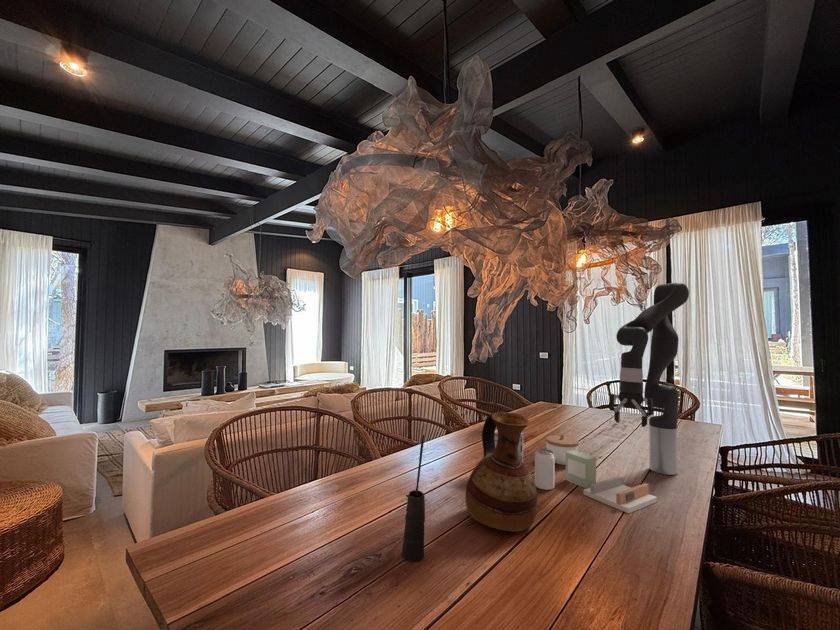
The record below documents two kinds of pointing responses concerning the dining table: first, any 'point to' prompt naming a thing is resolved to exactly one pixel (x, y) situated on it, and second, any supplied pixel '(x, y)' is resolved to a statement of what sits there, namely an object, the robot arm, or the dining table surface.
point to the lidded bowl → (561, 447)
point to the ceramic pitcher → (502, 478)
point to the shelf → (621, 494)
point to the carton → (580, 469)
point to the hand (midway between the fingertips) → (630, 424)
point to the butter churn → (414, 522)
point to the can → (544, 469)
